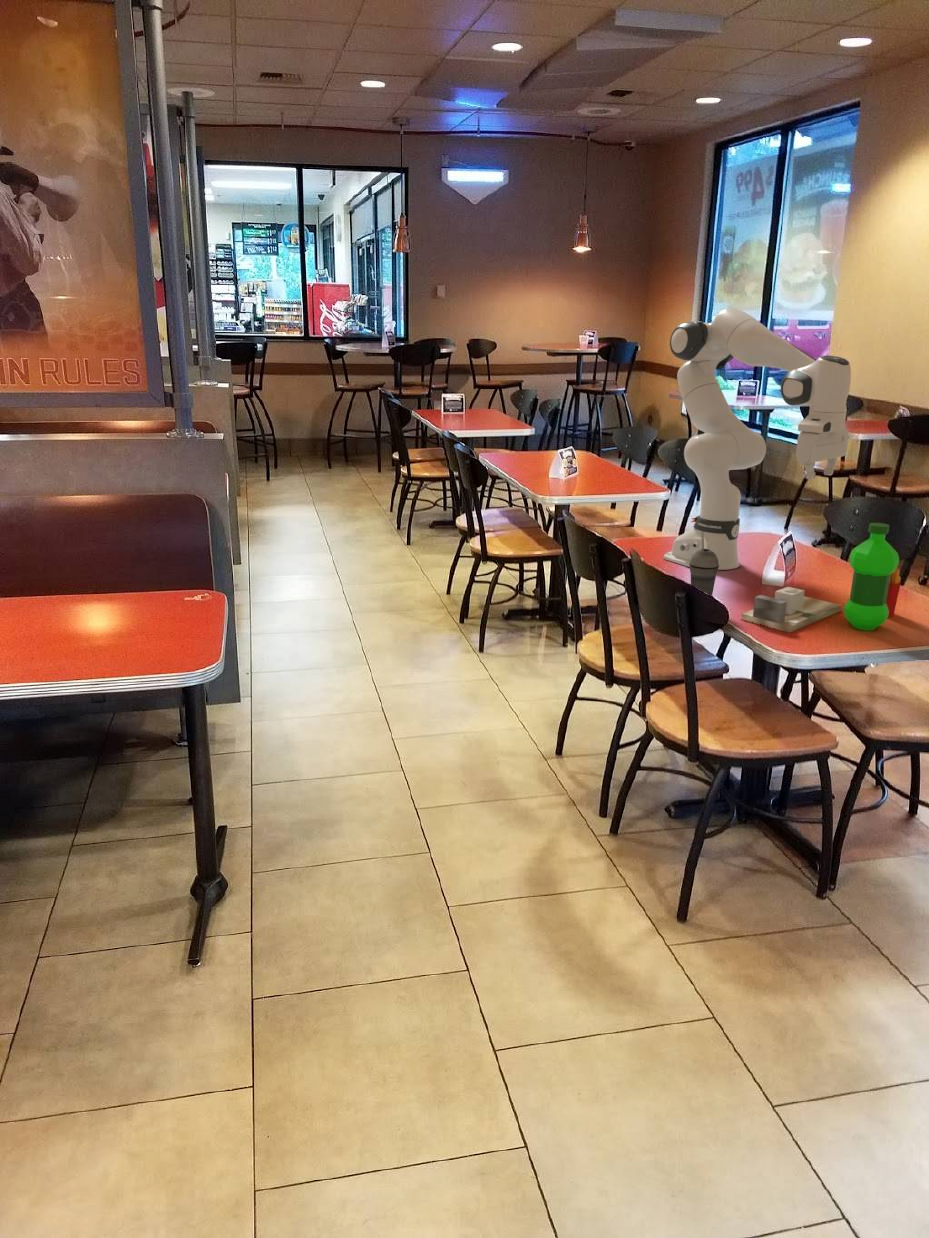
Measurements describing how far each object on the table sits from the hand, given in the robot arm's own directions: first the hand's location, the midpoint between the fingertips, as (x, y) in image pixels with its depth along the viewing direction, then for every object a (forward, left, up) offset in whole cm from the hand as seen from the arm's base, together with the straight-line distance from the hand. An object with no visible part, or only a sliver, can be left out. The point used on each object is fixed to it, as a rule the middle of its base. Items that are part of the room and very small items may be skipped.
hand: (819, 477), depth 237 cm
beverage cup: (-10, -34, -31) cm, 47 cm away
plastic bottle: (+24, -16, -31) cm, 43 cm away
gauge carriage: (+10, -25, -29) cm, 40 cm away
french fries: (+22, -2, -31) cm, 38 cm away
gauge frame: (+8, -21, -31) cm, 38 cm away
